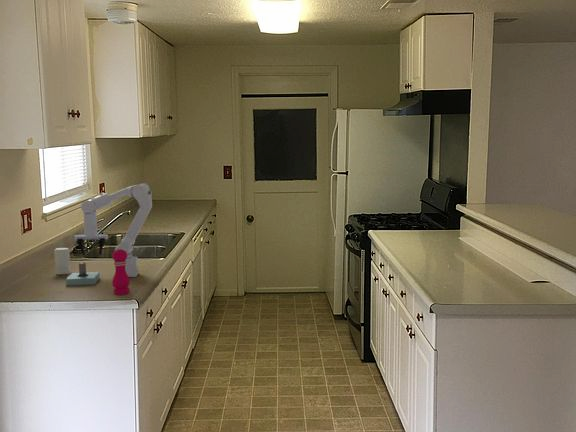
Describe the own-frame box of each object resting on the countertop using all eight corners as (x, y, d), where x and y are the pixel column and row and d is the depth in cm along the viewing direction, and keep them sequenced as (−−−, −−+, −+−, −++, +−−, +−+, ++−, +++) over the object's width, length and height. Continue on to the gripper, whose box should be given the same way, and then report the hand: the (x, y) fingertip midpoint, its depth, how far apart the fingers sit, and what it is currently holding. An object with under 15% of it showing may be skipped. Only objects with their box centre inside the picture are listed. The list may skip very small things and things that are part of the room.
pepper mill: (130, 294, 260) (128, 246, 257) (112, 295, 258) (110, 248, 255) (130, 290, 267) (128, 243, 264) (112, 291, 265) (110, 244, 262)
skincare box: (71, 272, 300) (69, 247, 298) (68, 274, 295) (67, 249, 294) (57, 272, 299) (56, 247, 297) (55, 274, 295) (53, 249, 293)
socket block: (99, 278, 287) (99, 271, 287) (94, 284, 276) (94, 278, 275) (72, 279, 286) (72, 272, 286) (66, 285, 274) (65, 279, 274)
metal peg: (86, 280, 282) (86, 262, 281) (86, 281, 279) (85, 264, 278) (80, 280, 282) (79, 263, 281) (79, 282, 279) (78, 264, 278)
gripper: (72, 227, 285) (74, 256, 287) (105, 226, 286) (106, 256, 288) (75, 225, 292) (77, 253, 294) (107, 224, 293) (109, 252, 295)
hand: (92, 254), depth 291 cm, fingers open, 7 cm apart
